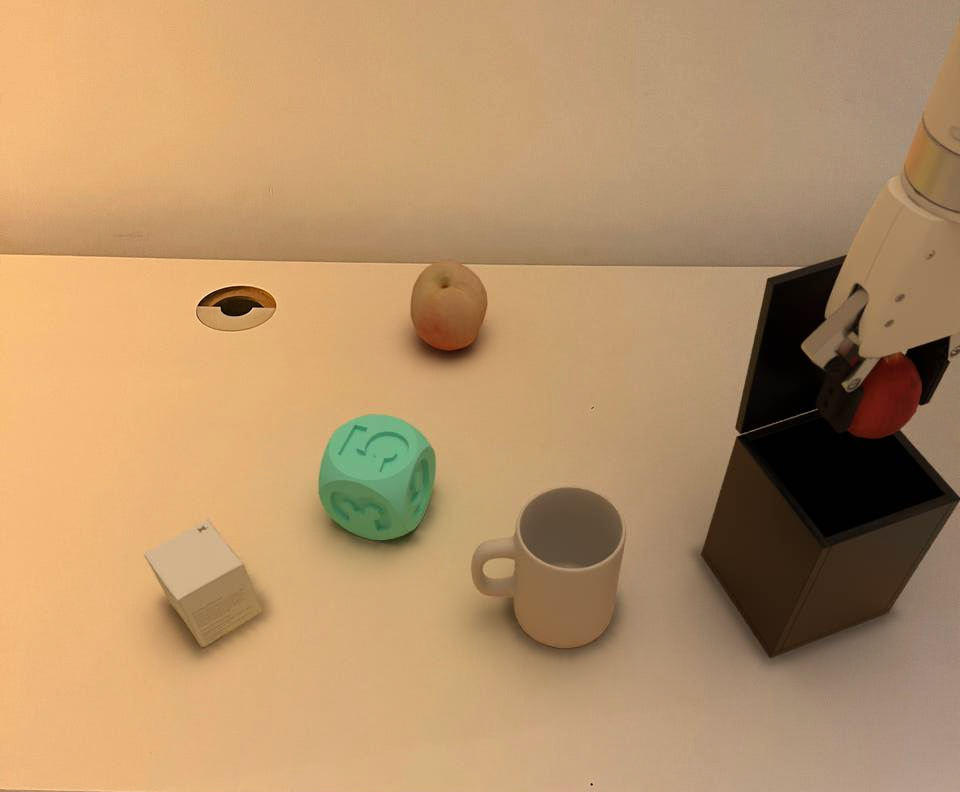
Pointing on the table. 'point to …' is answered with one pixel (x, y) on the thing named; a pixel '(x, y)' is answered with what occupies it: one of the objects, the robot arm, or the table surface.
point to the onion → (887, 397)
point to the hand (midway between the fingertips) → (871, 403)
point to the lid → (787, 347)
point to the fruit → (448, 305)
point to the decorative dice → (377, 476)
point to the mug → (559, 565)
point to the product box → (204, 582)
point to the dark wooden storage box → (821, 527)
